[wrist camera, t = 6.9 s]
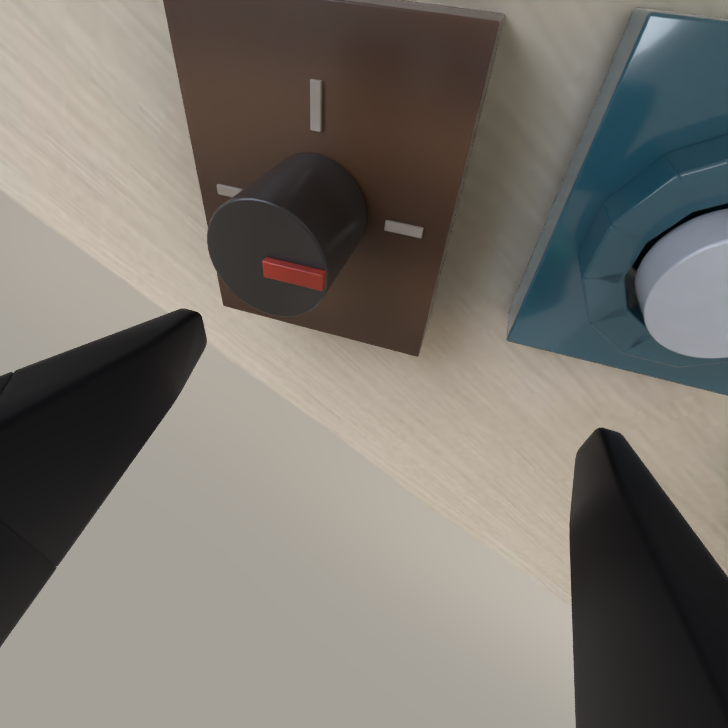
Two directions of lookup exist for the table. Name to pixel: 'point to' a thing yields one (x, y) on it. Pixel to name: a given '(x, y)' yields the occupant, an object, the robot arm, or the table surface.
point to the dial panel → (344, 131)
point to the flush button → (688, 287)
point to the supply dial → (288, 234)
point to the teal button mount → (632, 199)
